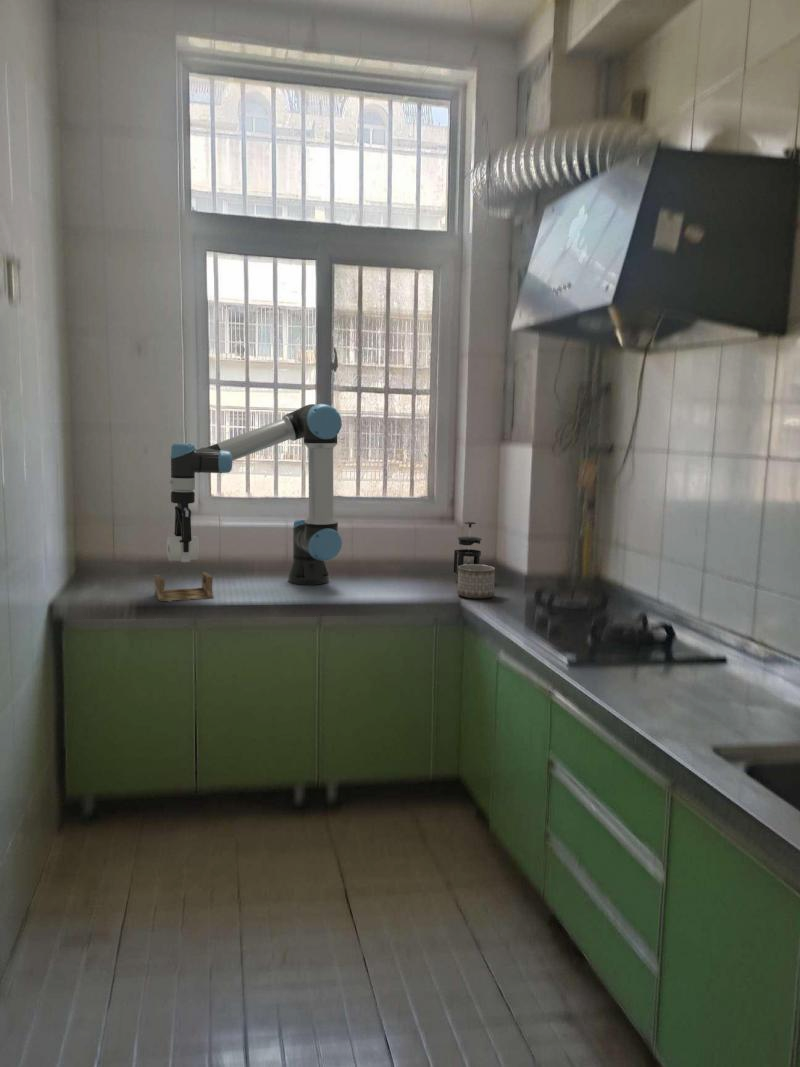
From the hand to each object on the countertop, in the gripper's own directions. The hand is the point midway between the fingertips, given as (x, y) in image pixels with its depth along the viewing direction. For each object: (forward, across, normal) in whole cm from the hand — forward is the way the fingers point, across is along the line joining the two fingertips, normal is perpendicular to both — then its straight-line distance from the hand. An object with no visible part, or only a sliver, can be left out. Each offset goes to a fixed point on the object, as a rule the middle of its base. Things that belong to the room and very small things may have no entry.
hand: (182, 559), depth 272 cm
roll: (0, 0, 0) cm, 0 cm away
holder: (+13, 0, 0) cm, 13 cm away
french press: (+12, +8, +104) cm, 105 cm away
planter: (+12, +31, +94) cm, 100 cm away
